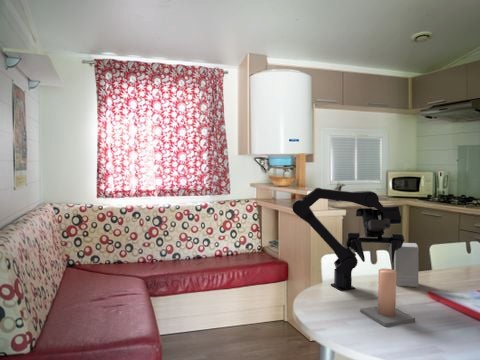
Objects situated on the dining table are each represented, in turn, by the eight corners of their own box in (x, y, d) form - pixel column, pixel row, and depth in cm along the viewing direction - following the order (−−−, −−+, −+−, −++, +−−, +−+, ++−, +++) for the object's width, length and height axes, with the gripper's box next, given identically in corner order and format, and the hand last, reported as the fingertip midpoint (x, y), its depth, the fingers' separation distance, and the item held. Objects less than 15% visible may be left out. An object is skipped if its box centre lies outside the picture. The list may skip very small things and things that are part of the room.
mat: (360, 311, 116) (360, 308, 115) (388, 307, 119) (388, 304, 119) (384, 326, 105) (384, 323, 105) (415, 321, 109) (415, 318, 109)
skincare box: (416, 282, 144) (417, 242, 143) (418, 288, 137) (420, 246, 137) (392, 280, 147) (394, 241, 146) (394, 286, 140) (395, 244, 139)
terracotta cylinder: (374, 310, 114) (374, 269, 113) (387, 308, 115) (388, 267, 115) (385, 317, 109) (386, 274, 108) (399, 315, 111) (400, 272, 110)
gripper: (347, 209, 129) (353, 248, 119) (403, 210, 127) (413, 249, 116) (343, 227, 137) (348, 265, 127) (395, 229, 135) (405, 267, 125)
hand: (378, 261), depth 123 cm, fingers open, 9 cm apart
